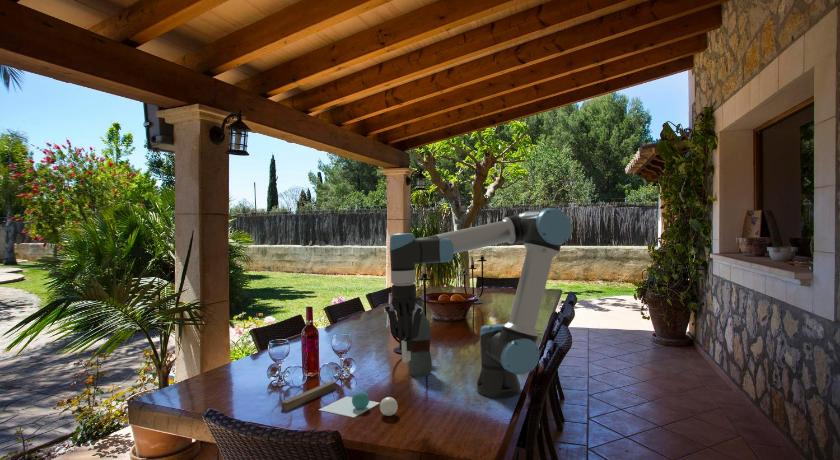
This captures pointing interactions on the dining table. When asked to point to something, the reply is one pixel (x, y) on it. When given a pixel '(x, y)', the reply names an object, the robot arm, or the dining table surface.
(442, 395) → the dining table surface
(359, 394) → the teal ball
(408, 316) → the robot arm
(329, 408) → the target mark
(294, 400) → the bar
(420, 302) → the bottle
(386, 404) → the cue ball
